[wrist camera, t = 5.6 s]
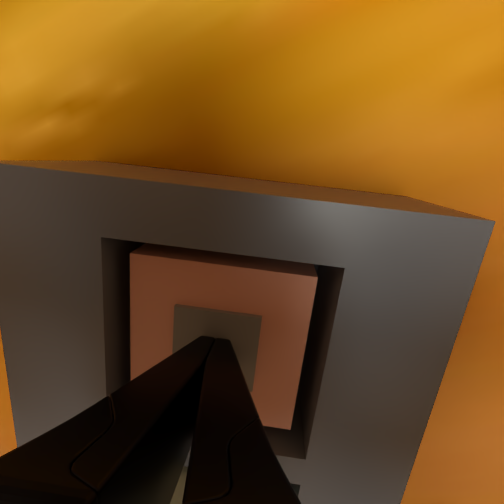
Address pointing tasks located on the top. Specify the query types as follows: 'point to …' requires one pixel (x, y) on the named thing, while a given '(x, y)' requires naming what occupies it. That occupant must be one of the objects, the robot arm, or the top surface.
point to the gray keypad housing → (250, 244)
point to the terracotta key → (225, 316)
